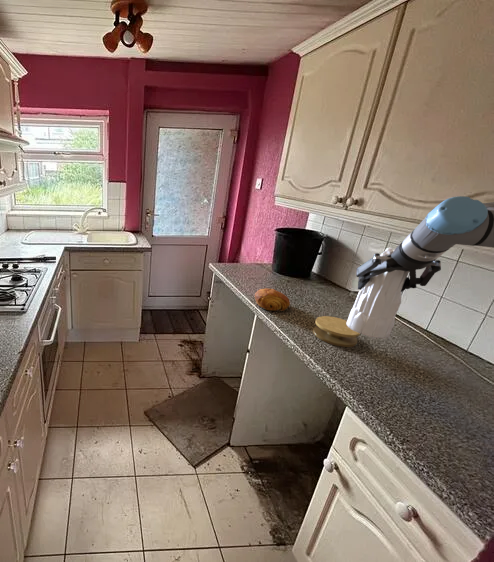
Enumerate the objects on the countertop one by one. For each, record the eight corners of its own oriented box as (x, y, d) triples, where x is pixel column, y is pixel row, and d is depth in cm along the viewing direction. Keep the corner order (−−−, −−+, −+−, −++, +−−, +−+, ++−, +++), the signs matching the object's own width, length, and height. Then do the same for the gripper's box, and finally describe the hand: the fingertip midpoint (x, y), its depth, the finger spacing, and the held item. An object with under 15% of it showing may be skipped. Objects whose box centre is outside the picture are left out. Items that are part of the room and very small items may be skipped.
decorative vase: (392, 342, 89) (428, 259, 79) (347, 331, 94) (376, 251, 84) (385, 326, 98) (417, 249, 88) (345, 316, 103) (371, 243, 93)
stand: (347, 330, 121) (351, 319, 119) (363, 350, 109) (368, 337, 107) (307, 325, 124) (311, 313, 122) (319, 343, 112) (323, 331, 110)
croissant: (252, 312, 138) (255, 297, 134) (253, 295, 150) (256, 280, 147) (288, 318, 133) (293, 302, 129) (286, 300, 145) (290, 285, 141)
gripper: (366, 256, 77) (335, 292, 97) (480, 269, 69) (422, 306, 89) (367, 231, 80) (337, 271, 99) (477, 241, 72) (421, 283, 91)
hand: (377, 288), depth 94 cm, fingers closed on decorative vase, 8 cm apart
